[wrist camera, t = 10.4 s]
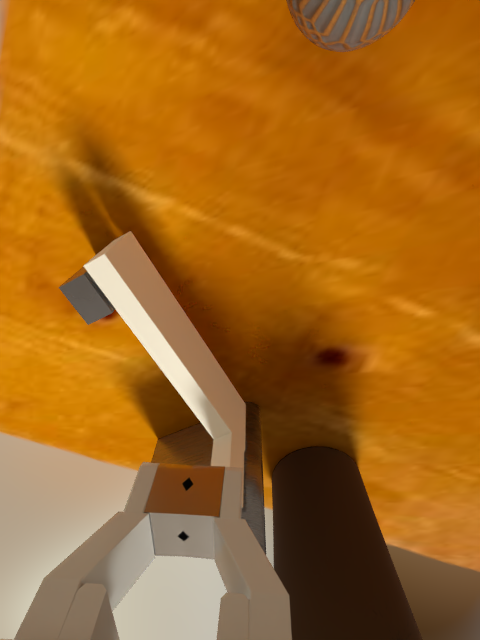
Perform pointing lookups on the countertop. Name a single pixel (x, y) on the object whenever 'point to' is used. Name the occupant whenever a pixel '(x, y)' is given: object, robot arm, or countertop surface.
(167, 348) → the gate
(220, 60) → the countertop surface
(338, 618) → the olive oil
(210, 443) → the gate posts
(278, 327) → the countertop surface
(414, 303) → the countertop surface
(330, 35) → the vase
